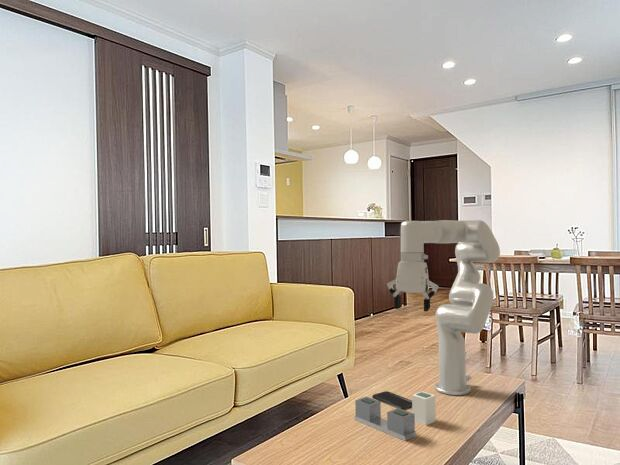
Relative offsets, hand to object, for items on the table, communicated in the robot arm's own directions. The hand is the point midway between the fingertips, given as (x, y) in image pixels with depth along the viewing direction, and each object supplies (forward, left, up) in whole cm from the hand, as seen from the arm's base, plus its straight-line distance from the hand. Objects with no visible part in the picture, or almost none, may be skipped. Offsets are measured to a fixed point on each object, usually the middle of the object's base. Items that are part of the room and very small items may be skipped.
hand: (411, 309), depth 154 cm
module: (+5, +8, -33) cm, 34 cm away
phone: (-1, -9, -34) cm, 35 cm away
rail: (+18, +3, -33) cm, 38 cm away
